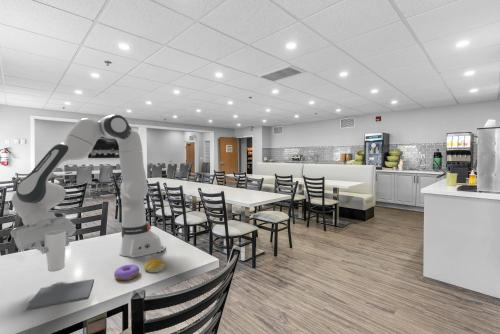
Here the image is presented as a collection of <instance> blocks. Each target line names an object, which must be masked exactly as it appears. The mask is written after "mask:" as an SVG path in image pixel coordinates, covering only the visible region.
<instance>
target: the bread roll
mask: <svg viewBox="0 0 500 334" xmlns="http://www.w3.org/2000/svg"><path fill="white" fill-rule="evenodd" d="M143 268H144V271H145V272H148V273H150V274H151V273H159V272H161V271H164V270H165V268H166V262H165V261H163V260H160V259H157V258H152V259H149V260H147V261H146V262H145V265H144V267H143Z"/></svg>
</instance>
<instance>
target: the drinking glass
mask: <svg viewBox="0 0 500 334" xmlns="http://www.w3.org/2000/svg"><path fill="white" fill-rule="evenodd" d="M51 232H54V233H58V234H54V235H47V234H48V233H51ZM51 232H47V233H45V234H44V247H47V249H48V252H47V253H45V256H46V262H47V271H48V272H50V273H52V272H59V271H61V270H63V269H64V268H65V267H66V265H65V264H66V263H65V261H66V260H65V259H66V247H67V246H66V234H65V231H64V230H56V231H51Z"/></svg>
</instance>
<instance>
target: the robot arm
mask: <svg viewBox="0 0 500 334" xmlns="http://www.w3.org/2000/svg"><path fill="white" fill-rule="evenodd" d="M99 139H105V140H113V139H114V140H116V142H117V145H118V153H119V156H118V157H119V167H120V171H121V177H122V182H121V184H120V200H121V201H120V203H121V209H122V214H121V216H122V218H121V219H122V225H121V231H120V232H121V235H120V236H121V245H120V250H119V253H118V254H119V255H120V256H122V257H130V258H132V259H133V258H139V257H144V256H150V255H153V254H157V252H159V253H161V251H163V250H164V249H165V250H166V245H165V244H164V243H163V242H161V238H160V236H159V235H158V234H157V233H155V232H153V230H151V229H152V227H151V225H150V224H149V223H146V207H145V200H144V199H145V197H146V196H147V195H148V194H149V193H148V192H149V187H148V181H147V175H146V171H145V166H144V155H143V154H144V152H143V146H142V145H143V144H142V140H141V137H140V134H139V133H138V132H137V131H135V130H132V128H131V126H130V125H129V122H128V121H127V119H126V117H125V116H124V117H123V116H122V115H119V114H110V115H107V116H104V117H103V118H101V119H98V120H97V121H95V120H93V119H91V118H89V117H88V118H86V117H85V118H81V119H79V120H78V121H77V122H76V123H75V124H74V125H73V127H71V130H69V132H68V134H67V135H66V137H65V138H64V139H63V140H62V141H61V142H60V143H57V144H55V145H54V146H52V147H51V148H50V149H49V150H48V151H47V153H46V154H45V155H44V156H43V157H42V159H41V160H40V161H39V162H38V163H37V164H36V166H35V167H34V168H33V169H32V170H31V172H29V174H27V175H26V176H25V177H24V178H23V179H22V180H20V182H18V184H17V186H16V189H15V192H14V193H13V194H12V197H11V203H12V207H13V209H14V210H15V212H16V214H17V215H18V216H19V218H21V221H22V223H23V225H22V226H19V227H14V228H13V229H12V230H10V233H9V234H10V236H11V237H12V238H13V240H14V242H15V246H16V248H17V249H19V250H20V251H24V250H27V249H31V248H34V249H35V250H37V251H40V253H41V254H42V255H44V254H46V253H47V252H48V249H47V247H45V246H43V245H45V243H44V234H45V233H47V232H51V231H56V230H64V231H65V234H66V247H68V246H69V245H70V242H69V237H71V236H73V235H74V234H75V233H76V232H77V228H76V226H75V224H74V223H73V222H72V221H71V220H70V219H69V218H67V217H66V213H64V212H52V211H49V210H51V209H53V208H55V207H57V206H58V205H60V204H61V203H63V202H64V201H65V199H66V196H67V191H66V189H65V187H64V186H62V185H60V184H57V183H55V182H51V181H49V179H50V177H51V176H52V175H53V174H54V172H55V171H56V170H57V169H58V168H59V166H60V165H61V164H63V162H67V161H77V160H78V161H79V160H83V159H85V158H87V157H88V156H89V155H90V153H92V151H93V149H94V147H95V145H96V143H97V141H99ZM54 234H58V233H54V232H51V233H48V234H47V235H54ZM165 250H164V251H165ZM164 251H163V252H164Z"/></svg>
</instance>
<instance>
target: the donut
mask: <svg viewBox="0 0 500 334" xmlns="http://www.w3.org/2000/svg"><path fill="white" fill-rule="evenodd" d="M139 273H140V268H139V266H138V265H136V264H131V263H130V264H125V265H121V266H120V267H118V268H116V270H115V271H114V272H113V274H114V278H115V279H116V280H119V281H127V280H128V281H129V280H131V279H134V278H136V277H137V276H138V274H139Z"/></svg>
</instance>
